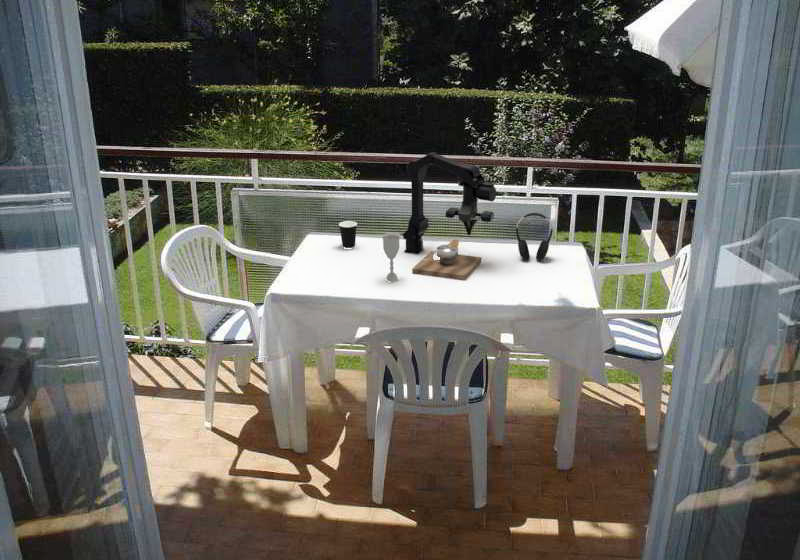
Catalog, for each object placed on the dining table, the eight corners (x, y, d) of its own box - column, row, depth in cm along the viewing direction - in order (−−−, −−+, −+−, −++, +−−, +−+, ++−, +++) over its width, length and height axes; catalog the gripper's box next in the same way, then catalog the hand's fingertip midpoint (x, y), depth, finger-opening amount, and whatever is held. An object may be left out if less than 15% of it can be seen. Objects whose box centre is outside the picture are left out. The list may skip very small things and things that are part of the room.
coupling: (454, 259, 305) (454, 252, 304) (434, 257, 308) (434, 249, 307) (465, 247, 318) (466, 240, 317) (446, 245, 321) (446, 238, 320)
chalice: (387, 284, 296) (386, 239, 290) (379, 278, 302) (378, 234, 295) (404, 280, 299) (403, 236, 293) (396, 275, 305) (395, 231, 298)
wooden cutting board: (412, 273, 307) (412, 261, 305) (431, 255, 325) (431, 244, 324) (465, 280, 299) (465, 268, 297) (481, 261, 318) (481, 250, 316)
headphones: (550, 264, 314) (553, 216, 307) (514, 262, 317) (516, 215, 309) (550, 256, 322) (553, 210, 315) (515, 255, 325) (517, 209, 317)
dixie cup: (361, 247, 336) (360, 223, 332) (347, 252, 331) (346, 227, 327) (349, 243, 341) (348, 219, 337) (336, 248, 336) (334, 223, 332)
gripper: (441, 200, 303) (440, 238, 309) (487, 205, 296) (485, 243, 302) (450, 193, 312) (449, 230, 318) (495, 197, 306) (493, 235, 312)
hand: (469, 234), depth 312 cm, fingers closed
